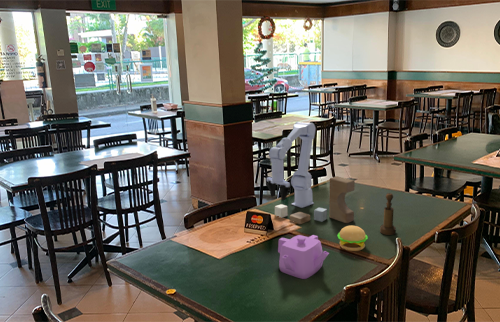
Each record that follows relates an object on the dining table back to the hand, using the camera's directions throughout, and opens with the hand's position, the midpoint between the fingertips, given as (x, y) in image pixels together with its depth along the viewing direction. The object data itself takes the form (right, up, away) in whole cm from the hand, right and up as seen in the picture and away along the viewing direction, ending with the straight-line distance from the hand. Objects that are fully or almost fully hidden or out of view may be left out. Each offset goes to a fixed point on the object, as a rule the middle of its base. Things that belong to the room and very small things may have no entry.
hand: (278, 198), depth 206 cm
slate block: (+20, -10, -4) cm, 23 cm away
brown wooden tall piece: (+47, -13, -22) cm, 54 cm away
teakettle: (+5, -22, -52) cm, 57 cm away
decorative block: (+30, -10, -5) cm, 32 cm away
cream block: (+2, -9, +2) cm, 10 cm away
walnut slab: (+10, -11, -4) cm, 15 cm away
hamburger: (+28, -17, -34) cm, 48 cm away
